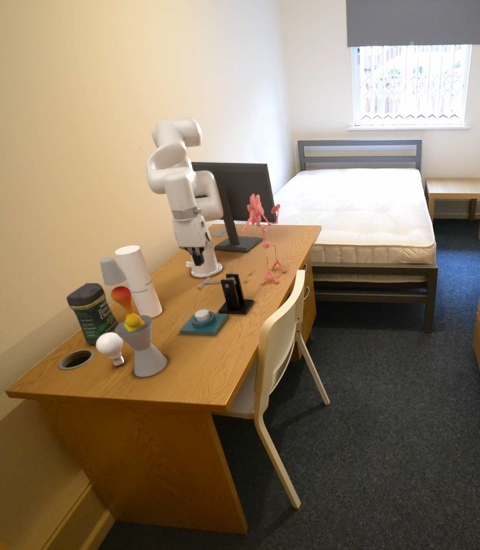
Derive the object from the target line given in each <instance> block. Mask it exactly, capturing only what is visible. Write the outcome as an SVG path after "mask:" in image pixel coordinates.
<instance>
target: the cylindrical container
mask: <svg viewBox="0 0 480 550" xmlns="http://www.w3.org/2000/svg"><path fill="white" fill-rule="evenodd" d="M114 255H115V258H116V260H117V263H118V265H119V267H120V268H121V270H122V271H123V273H124V274H125V276H126V278H127V279H126V280H125V283H126V285H127V288H128V289H129V290H130V292H131V298H132V300H133V302H134V305H135V307H136V309H137V312H138V315H146V316H150V317H151V318H152V319H153V318H156V317H158V316H159V315H160V314H162V312H163V307H162V305H161V302H160V299H159V296H158V293H157V290H156V288H155V285H154V283H153V280H152V277H151V274H150V272H149V269H148V266H147V264H146V261H145V258H144V255H143V252H142V249H141V247H140V246H139V245H137V244H135V245H126V246H122V247H119V248H118V249H116V250H115V251H114Z"/></svg>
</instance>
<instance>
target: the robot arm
mask: <svg viewBox="0 0 480 550" xmlns="http://www.w3.org/2000/svg"><path fill="white" fill-rule="evenodd" d="M151 138H152V141H153V143H154V145H155V147H156V149H155V150H154V151H153V152H152V153H151V154H150V156H149V157H148V158H147V160H146V163H145V172H146V181H147V185H148V187H149V189H150V191H151V192H153V193H154V194H156V195H166V198H167V201H168V204H169V207H170V211H171V214H172V219H171V220H172V221H171V222H172V223H171V224H172V230H173V235H174V239H175V242H176V244H177V246H178V248H179V249H180V250H184V251H186V252H188V254H189V256H190V259H191V260H186V261H185V268H188V269H191V271H190V273H191V276H193V277H194V278H199V279H200V278H201V279H202V278H207V277H213V276H215V275H218V274H219V273H220V272H221V271H222V270H223V265H222V264H221V263H220V262H218V261H217V260H218V259H217V256H216V252H215V249H214V244H213V240H212V237H211V232H210V230H209V227H208V225H207V222H212V221H219V220H218V219H221V218H222V217H223V208H222V203H221V200H220V196H219V192H218V188H217V184H216V180H215V178H214V176H213V174H212V173H211V172H209V171H195V172H194V171H193V169H192V165H191V162H192V160H191V159H190V158H189V157H188V156H187V154H188V153H187V148H193V147H200V146H201V145H202V144H203V134H202V129H201V126H200V124H199V123H198V122H197V120H196V119H194V118H193V117H173V118H164V119H160V120H159V121H158V122H157V123H156V124H155V127H154V128H153V129H152V130H151ZM201 195H206V196H208V197H204V198H196V199H195V197H194V196H201Z"/></svg>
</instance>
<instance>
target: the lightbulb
mask: <svg viewBox="0 0 480 550" xmlns="http://www.w3.org/2000/svg"><path fill="white" fill-rule="evenodd" d="M95 347H96V349H97V350H96V351H98V353H100V354H102V355H104V356H106V357H107V358H108V359H109V360H110V361H111V363H112V364H113V366H115V367H118V366H121V365H122V364H124V363H125V360H124V358H123V356H122V349H123V347H124V340H123V339H122V338H121V337H119V336H118V335H117V334H116V333H113V332H109V333H105V334H103V335H101V336H100V337H99V338H98V340H97V342H96V345H95Z"/></svg>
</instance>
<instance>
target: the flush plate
mask: <svg viewBox="0 0 480 550" xmlns="http://www.w3.org/2000/svg"><path fill="white" fill-rule="evenodd" d="M208 311H209V314H210V318H209V319H207V320H205V321H202V322H198V321H196V318H195V313H196V312H194V313H193V314H192V315H191V317H190V318H189V319H188V320H187V321H186V323H184V324H183V326H181V328H180V329H179V332H180V335H193V336H194V335H195V336H196V335H197V336H199V335H200V336H216V335H218V333H219V332H220V330H221V328H222V327H223V326H224V324H225V323H226V322H227V320H228V319H229V314H219V313H214V311H211V310H208Z"/></svg>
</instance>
